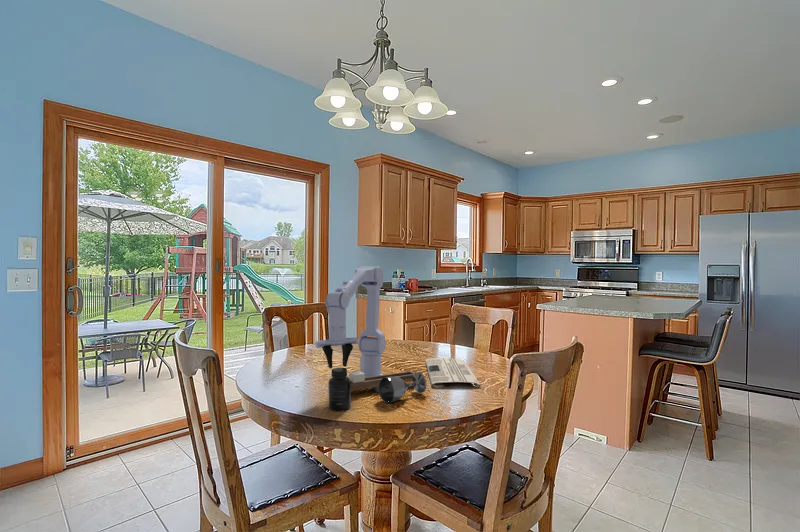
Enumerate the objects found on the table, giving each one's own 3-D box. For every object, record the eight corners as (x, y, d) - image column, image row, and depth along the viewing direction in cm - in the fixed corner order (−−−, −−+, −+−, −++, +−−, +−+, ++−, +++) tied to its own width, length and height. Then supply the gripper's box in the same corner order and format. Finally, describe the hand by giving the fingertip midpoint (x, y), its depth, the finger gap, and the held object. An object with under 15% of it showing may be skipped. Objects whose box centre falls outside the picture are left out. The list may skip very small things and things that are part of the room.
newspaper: (425, 364, 182) (425, 357, 182) (468, 364, 182) (468, 357, 182) (431, 389, 146) (431, 381, 146) (485, 389, 146) (485, 381, 146)
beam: (340, 392, 140) (340, 380, 140) (410, 381, 153) (410, 370, 153) (346, 397, 135) (346, 385, 135) (418, 385, 148) (418, 374, 148)
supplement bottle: (329, 404, 129) (329, 366, 129) (351, 403, 129) (350, 366, 129) (327, 412, 122) (327, 372, 122) (350, 411, 123) (350, 371, 122)
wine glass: (424, 398, 138) (391, 407, 128) (409, 387, 143) (376, 395, 134) (429, 377, 136) (396, 385, 126) (414, 366, 142) (380, 373, 132)
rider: (349, 383, 141) (349, 372, 141) (359, 381, 143) (359, 370, 143) (353, 386, 137) (353, 375, 137) (364, 384, 139) (364, 373, 139)
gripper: (319, 330, 130) (319, 372, 130) (361, 326, 136) (361, 366, 137) (313, 327, 136) (314, 367, 136) (354, 324, 143) (354, 362, 143)
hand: (337, 366), depth 137 cm, fingers open, 4 cm apart
